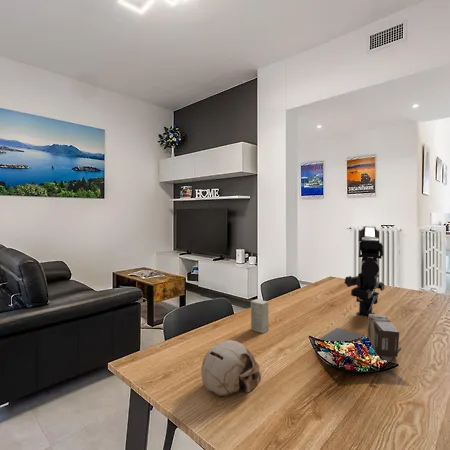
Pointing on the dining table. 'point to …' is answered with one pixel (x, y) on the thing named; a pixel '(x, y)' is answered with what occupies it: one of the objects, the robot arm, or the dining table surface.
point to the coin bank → (229, 369)
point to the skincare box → (259, 315)
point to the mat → (347, 338)
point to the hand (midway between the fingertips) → (367, 310)
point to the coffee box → (383, 335)
